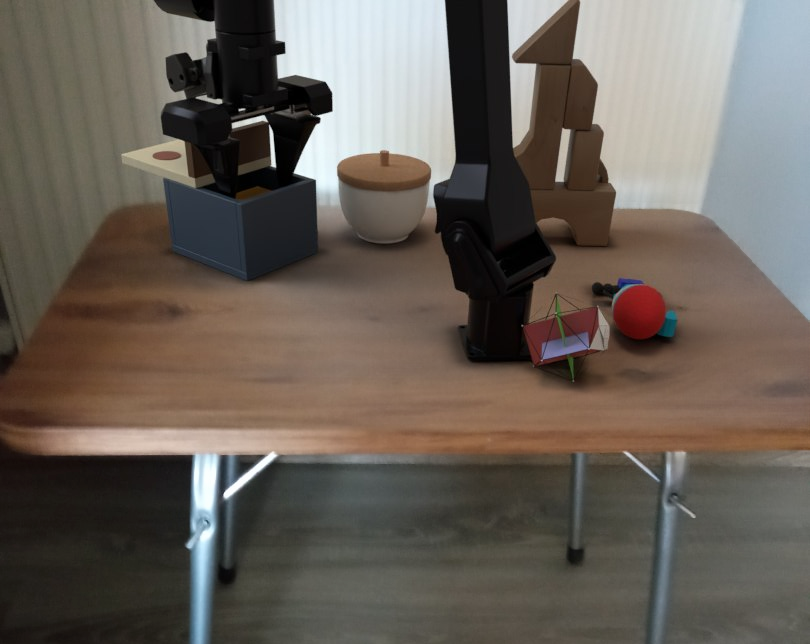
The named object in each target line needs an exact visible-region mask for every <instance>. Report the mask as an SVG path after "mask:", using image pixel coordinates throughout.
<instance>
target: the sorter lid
mask: <svg viewBox="0 0 810 644" xmlns="http://www.w3.org/2000/svg"><path fill="white" fill-rule="evenodd" d="M270 130H271V129H270V125H269V123H268V121H267V120H266V121H265V120H261V121H256V122H252V123H248V124H245V125H241V126H240V125H239V126H237V127H232V131H231V133H230V138H233V139H237V140H240V152H239V165H238V175H242V174H245V173H248V172H251V171H255V170H258V169H261V168H265V167H268V166H272V151H271V149H272V148H271V133H270ZM121 162H122V164H123V165H126V166H129V167H131V168H135V169H137V170H140V171H143V172H147V173H148V174H149V173H150V174H152V175H156V176H158V177H161V178H167V179H170V180H173V181H176V182H179V183H182V184H185V185H187V186H190V187H193V188H199V187H202V186H205V185H209V184H212V183H215V180H214V178H213V175H212V173H211V171H210V169H209V167H208V165H207V163H206V161H205V159H204V158H203V156H202V154H201V153H200V151H199V150H198V149H197V148H196V147H195V146H194V145H193V144H191V143H188V142H185V141H183V140H179V139H176V140H175V139H174V140H171V141H168V142H164V143H160V144H156V145H152V146H148V147H143V148H140V149H136V150H132V151H129V152H125V153H121Z"/></svg>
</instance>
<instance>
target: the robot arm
mask: <svg viewBox="0 0 810 644" xmlns="http://www.w3.org/2000/svg"><path fill="white" fill-rule="evenodd" d="M153 2H154V3H155V5H156V6H157V7H158V8H159V9H160V10H161V11H162V12H164V13H166V14H169V15H174V16H179V17H184V18H189V19H192V20H199V21H202V22H208V23H213V22H214V31H215V32H214V33H215V38H209V39H207V40H206V41H207V42H206V45H205V50H206V51H205V52H206V55H205V57H203V58H198V59H192V57H191V56H190V54H189V53H188V52H187V51H186V52H180V53H174V54H170V55H168V56H166V57H165V75H166V79H167V83H168V86H169V88H170V90H171V91H172V92H174V93H179V92H184V96H185V98H184V99H180V100H175V101H170V102H166V103H165V104H164V106H163V107H162V109H161V111H160V122H161V130H162V131H161V132H162V135H163V136H167V137H170V138H173V139H176V140H183V141H185V142H188V143H191V144H193V145H194V146H195V147H196V148H197V149H198V150H199V151H200V153H201V154H202V156H203V158H204V159H205V161H206V163H207V165H208V167H209V169H210V171H211V173H212V175H213V178H214V180H215V182H216V184H217V187H218V189H219V191H220V193H221V194H222V195H225V196H228V197H231V198H234V199H235V198H236V192H237V179H238V165H239V152H240V140H237V139H233V138H230V133H231V131H232V128H233V124H234V123H239V122H243V121H247V120H250V119H254V118H258V117H262V116H264V118H265V119H266V122H268V123H269V128H270V130H271V132H272V137H273V139H272V140H273V148H274V160H275V168H276V173H277V179H278V184H279V186H281V187H286V186H288V185H289V183H290V181H291V178H292V176H293V173H295V171H296V168H297V166H298V163H299V161H300V159H301V157H302V154H303V152H304V150H305V147H306V145H307V143H308V141H309V140H310V138H311V136H312V134H313V132H314V130H315V128H316V126H317V125H319V124H321V121H322V118H321V115H325V114H330V113H332V112H334V111H333V110H334V109H333V108H334V107H333V105H334V104H333V101H334V100H333V92H332V90H331V88H330V86H329V85H328V83H327V82H326V81H324V80H319V79H315V78H311V77H307V76H303V75H298V74H294V75H289V76H284V77H280V78H279V72H278V71H279V70H278V56H281V55H285V54H287V53H286V52H287V51H286V42H285V41H282V40H277V33H276V12H275V11H276V10H275V0H153ZM508 5H509V4H508V0H444V9H445V22H446V38H447V52H448V53H447V54H448V66H449V67H448V68H449V81H450V96H451V109H452V124H453V137H454V139H453V140H454V153H455V157H454V158H455V159H454V161H455V162H454V164H453V168H452V171H451V174H450V176H449V178H448V179H445V180H442V181H440V182H437V183H435V184H434V185H433V192H432V197H433V202H434V207H435V211H436V213H435V214H436V223H435V228H434V233H435V234H436V235H438V234H440V240H441V244H442V248H443V250H444V253H445V255H446V256H447V257H448V258H447V259H448V263H449V268H450V272H451V277H452V281H453V285H454V289H455V290H456V291H458V292H461V293H464V294H465V295H466V296H467V297H468V309H467V321H466V322H467V323H466V324H460V325H458V326H457V330H456V331H457V334H458V337H459V341H460V343H461V346H462V348H463V351H464V354H465V356H466V359H467V360H468V361H509V360H510V361H511V360H514V361H515V360H532V358H531V355H530V351H529V348H528V344H527V340H526V337H525V333H524V330H523V327H522V325H525V324H528V323H530V319H531V317H530V316H531V310H532V302H533V293H534V286H535V284H534V283H535V282H537V281H539V280H540V279H542V278H546V277H547V276H549V275H550V272H551V271H552V269H553V267H554V265H555V263H556V261H557V256H556V253H555V252H554V251H553V249H552V247H551V245H550V243H549V242H548V240H547V239H546V237H545V235H544V233H543V232H542V230H541V228H540V227H539V225H538V224H537V223H536V222H535V215H534V209H533V203H532V197H531V191H530V185H529V182H528V180H527V178H526V177H525V175H524V173H523V171H522V169H521V167H520V165H519V163H518V161H517V160H516V158H515V155H514V151H513V148H514V139H513V116H512V115H513V114H512V113H513V112H512V111H513V110H512V85H511V62H510V61H511V59H510V58H511V57H510V32H509V31H510V30H509V29H510V28H509V8H508V7H509V6H508ZM204 96H206V98H208V99H210V100H215V101H216V100H221V103H215V102H211V101H208V100H204V99H200V98H198V97H204Z"/></svg>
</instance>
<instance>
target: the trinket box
mask: <svg viewBox="0 0 810 644" xmlns="http://www.w3.org/2000/svg"><path fill="white" fill-rule="evenodd" d="M336 176H337V182H338V184H337V185H338V188H337V189H338V198H339V203H340V208H341V211H342V213H343V216H344V218H345V221H346V222H347V224H348V225H349V226H350V227H351V228H352V229H353V230H354V232H355V233H356V234H357V237H358V238H359V239H361V240H363V241H366V242H369V243H373V244H381V245H382V244H383V245H384V244H395V243H400V242H403V241H405V240H407V239H408V238H409V234H411V233H412V232H413V231H415V229H416V228H417V227H418V226H419V224H420V223H421V221H422V220H423V218H424V215H425V213H426V210H427V205H428V202H429V195H430V186H431V185H430V183H431V181H430V180H431V178H432V167H431V166H430V164H428V163H427V162H426V161H423V160H422V159H419V158H416V157H413V156H410V155H405V154H400V153H390V151H389V150H386V149H384V150H380V151H379V152H373V153H370V152H369V153H361V154H356V155H351V156H348V157H346V158H344V159H342V160H340V161H339V162H338V164H337V166H336Z"/></svg>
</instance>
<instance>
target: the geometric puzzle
mask: <svg viewBox="0 0 810 644" xmlns="http://www.w3.org/2000/svg"><path fill="white" fill-rule="evenodd" d="M558 296H559V297H560V298H561V299H563V300H564V301H566V302H567V303H569V304H570V305H572V306H573V307H574V308H576V309H573V310H566V311H562V309H561V306H560V301H559V298H558ZM565 297H566V298H570V299H572V300H575V301H579V302H582V303H583V301H582V300H579V299H576V298H572V297H569V296H566V295H565ZM566 298H564V296H562V295H561V294H559V293H558V292H555V294H554V296H553V298H552V302H551V304H550V306H549V309H548V311H547V314H546V316H544V317H542V318H539V319H536V320H533V321H530V322H529V323H528V324H525V325H522V327H523V330H524V333H525V337H526V340H527V344H528V348H529V351H530V355H531V358H532V359H531V361H532V367H533V368H536V369H540V370H543V371H546V372H548V373H551V374H553V375H556V376H559V377H561V378H564V379H567V380H569V381H571V382H573V383H574V382H575V381H576V379H577V377H578V373H579V371H580V370H581V367H582V365H583V363H584V361H585V359H586V357H587V356H589V355H593V354H595V353H599V352H602V353H601V355H602V354H604V353H605V352H606V351H607V350H609V340H610V328H611V327H610V324H609V322H608V321H607V319H606V318H605V316H604V315H603V313H602V311H601V309H600V307H599V305H594V304H591V303H590V305H591V306H592V307H586V308H580V309H579V307H578V306H576V305H575V304H573V303H572V302H570V301H568V300H567V299H566ZM554 301H555V312H554V313H552V314H550V311H551V309H552V306H553V304H554ZM541 309H542V307H539V309H538V310H537V311H536V312H535V313H534V314H533V315H532V316H531V318H533V316H535V315H536V314H537V313H539V311H540V310H541ZM563 313H567V314H564V315H563ZM549 314H550V315H549ZM552 316H554V317H552ZM549 317H552V318H549ZM548 318H549V319H548ZM582 357H584V358H583V360H582V362H581V364H580V366H579V368H578V370H577V372H576V375H575V360H576V359H581V358H582ZM567 361H568V365H569V368H570V373H571V376H572V379H571V378H570V377H569V376H567V375H565V374H564V373H562V372H561V371H559V370H558V369H557V368H554V367H553V366H552V364H558V363H562V362H567ZM546 365H547V366H548V367H550V368H552V369H554V370H555V371H556V372H558V373H559V374H562V375H559V374H556V373H554V372H551V371H548V370H545V369H543V368H542V367H540V366H546ZM587 369H588V367H587V368H585V369H584V370H583V371H582V372H581V373H580V374H579V376H581V375H582V374H583V373H584V372H585V371H586V370H587ZM563 375H564V376H563Z"/></svg>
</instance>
